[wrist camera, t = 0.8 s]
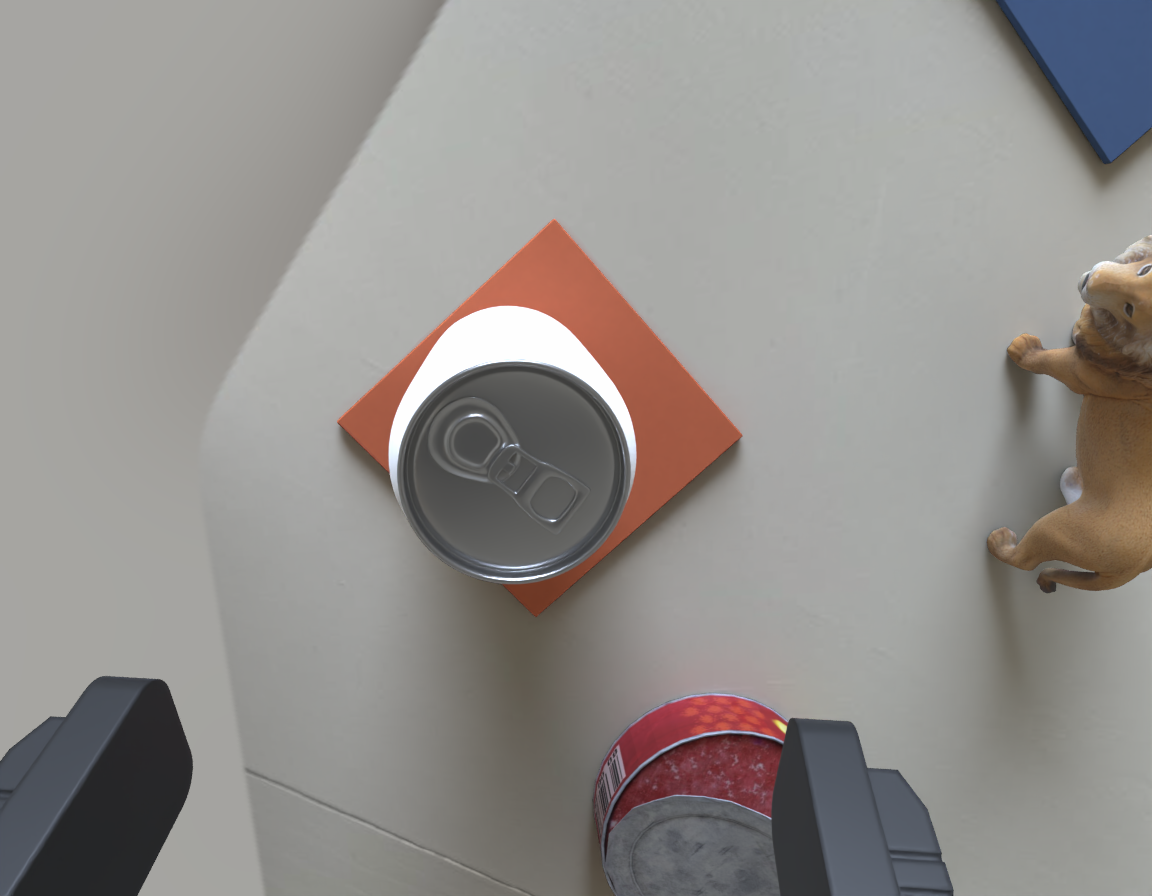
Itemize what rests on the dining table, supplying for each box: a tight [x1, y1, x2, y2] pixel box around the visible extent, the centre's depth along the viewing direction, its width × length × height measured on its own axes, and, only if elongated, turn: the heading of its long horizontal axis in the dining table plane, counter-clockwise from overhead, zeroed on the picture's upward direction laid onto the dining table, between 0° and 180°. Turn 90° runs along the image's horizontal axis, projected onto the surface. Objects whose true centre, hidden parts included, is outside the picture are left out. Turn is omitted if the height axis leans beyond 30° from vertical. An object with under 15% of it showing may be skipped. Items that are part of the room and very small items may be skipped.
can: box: [389, 306, 636, 584], centre depth 26 cm, size 6×6×12 cm
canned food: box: [593, 693, 788, 896], centre depth 35 cm, size 11×10×10 cm
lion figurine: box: [987, 236, 1152, 593], centre depth 30 cm, size 15×5×9 cm, turn 8°
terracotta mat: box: [337, 219, 742, 617], centre depth 33 cm, size 11×11×1 cm
